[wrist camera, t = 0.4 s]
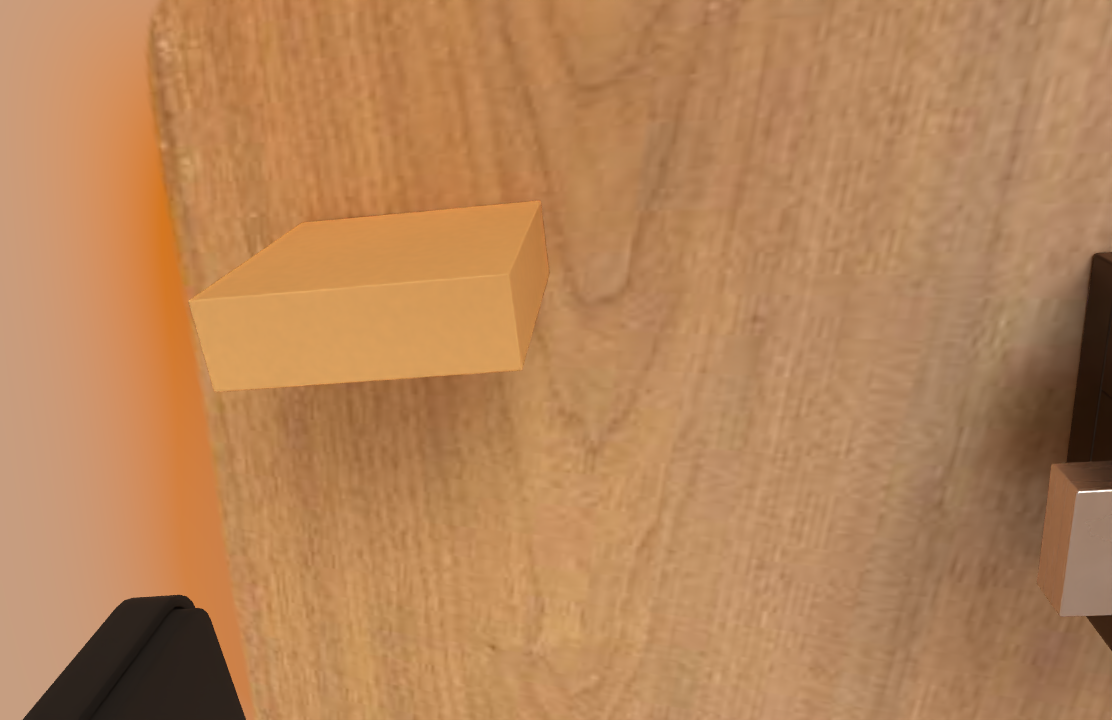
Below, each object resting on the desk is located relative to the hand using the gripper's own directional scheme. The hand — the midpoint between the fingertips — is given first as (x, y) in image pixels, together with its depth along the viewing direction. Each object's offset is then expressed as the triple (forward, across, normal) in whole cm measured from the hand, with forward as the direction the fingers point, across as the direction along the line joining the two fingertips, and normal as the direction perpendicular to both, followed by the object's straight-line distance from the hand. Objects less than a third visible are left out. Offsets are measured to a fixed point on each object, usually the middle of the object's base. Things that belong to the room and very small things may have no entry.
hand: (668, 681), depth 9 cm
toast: (+20, +7, 0) cm, 22 cm away
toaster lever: (+15, -12, +9) cm, 21 cm away
